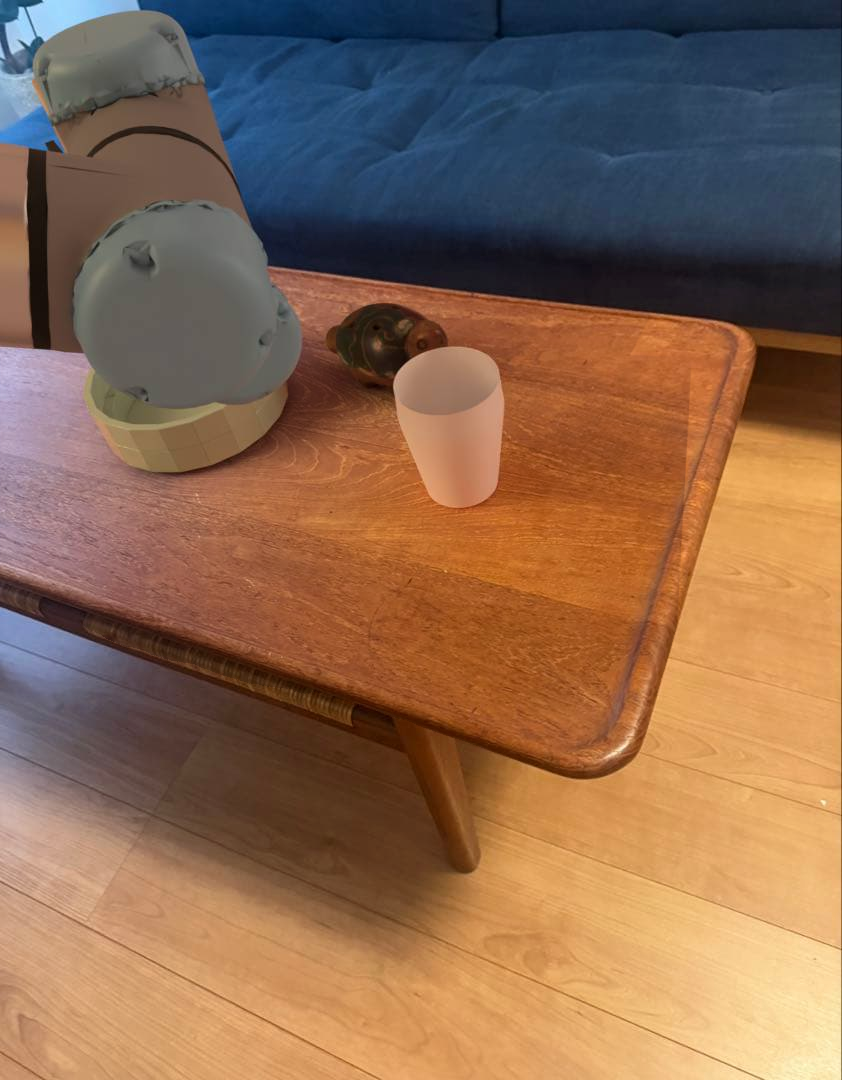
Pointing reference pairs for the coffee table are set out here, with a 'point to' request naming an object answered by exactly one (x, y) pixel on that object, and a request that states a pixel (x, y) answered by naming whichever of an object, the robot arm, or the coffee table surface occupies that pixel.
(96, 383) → the bowl
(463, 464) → the cup
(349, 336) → the decorative turtle
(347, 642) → the coffee table surface
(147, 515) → the coffee table surface
